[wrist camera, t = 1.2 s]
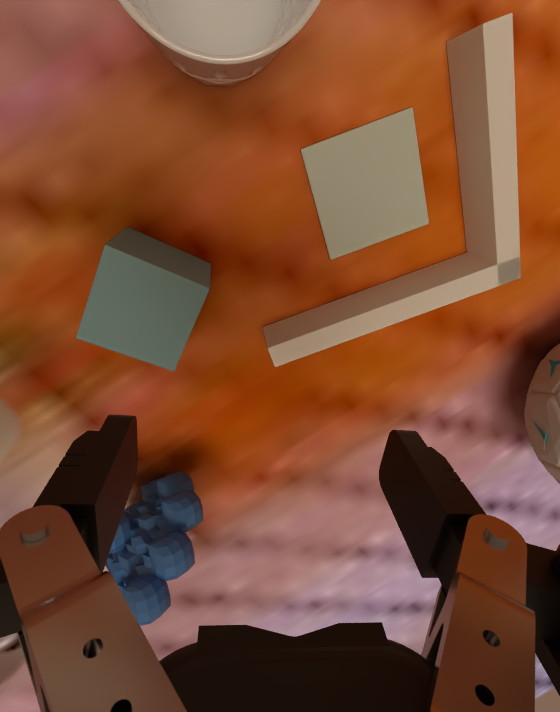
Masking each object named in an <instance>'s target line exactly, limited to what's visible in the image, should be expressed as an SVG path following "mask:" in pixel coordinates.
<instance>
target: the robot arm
mask: <svg viewBox="0 0 560 712" xmlns="http://www.w3.org/2000/svg"><path fill="white" fill-rule="evenodd" d="M137 462H138V449H137V420H136V416H126V415H108V417H107V418H106V420H105V422H104V424H103V426H102V428H101V429H100V431H87V432H85V433H84V434H83V435H81V436H80V437H79V438H77V439H76V440H75V441H73V443H72V444H71V446H70V448H69V449H68V451H67V453H66V455H65V457H63V459H62V461H61V462H60V464H59V467H57V469H56V470H55V472H54V474H53V475H52V477H51V478H50V480H49V482H48V483H47V485H46V486H45V488H44V490H43V491H42V493H41V494H40V496H39V498H38V499H37V501H36V503H35V504H34V506H33V507H32V508H29V509H26V510H24V511H22V512H20V513H18V514H16V515H15V516H13V517H12V518H10V519H9V520H8V521H7V522H6V523H5V524H4V525H3V526H2V527H1V529H0V638H1V637H4V636H7V635H11V634H14V633H17V635H18V638H19V641H20V644H21V648H22V651H23V654H24V657H25V661H26V664H27V667H28V671H29V674H30V677H31V680H32V684H33V687H34V690H35V694H36V697H37V700H38V704H39V707H40V711H41V712H535V653H536V655H537V657H538V658H539V660H540V662H541V664H542V665H543V667H544V669H545V671H546V673H547V674H548V676H549V678H550V680H551V681H552V683H553V685H554V687H555V688H556V690H557V692H558V694H559V695H560V545H559V546H558V548H557V550H556V551H553V550H549V549H546V548H542V547H538V546H535V545H531V544H528V543H526V542H525V540H524V539H523V537H522V536H521V535H520V534H519V532H518V531H517V530H515V529H514V528H513V527H512V526H511V525H509V524H508V523H506V522H504V521H503V520H501V519H498V518H496V517H493V516H490V515H486V513H485V512H484V511H483V509H482V508H481V507H480V505H479V504H478V502H477V501H476V500H475V498H474V497H473V496H472V494H471V493H470V491H469V490H468V489H467V487H466V486H465V485H464V483H463V482H461V479H460V478H459V476H458V475H457V474H456V472H454V469H453V468H452V467H451V465H450V464H449V463H448V461H447V460H446V458H445V457H443V456H442V455H441V454H440V453H438V452H437V451H436V450H435V449H433V448H432V447H427V445H426V444H425V442H424V441H423V440H422V438H421V437H420V435H419V434H418V433H417V432H416V431H406V430H392V431H391V432H390V434H389V436H388V440H387V443H386V447H385V450H384V454H383V457H382V461H381V464H380V469H379V481H380V485H381V488H382V490H383V493H384V495H385V497H386V499H387V501H388V504H389V506H390V508H391V510H392V513H393V515H394V517H395V519H396V521H397V524H398V526H399V528H400V530H401V532H402V535H403V537H404V539H405V541H406V543H407V546H408V548H409V550H410V552H411V554H412V557H413V559H414V561H415V563H416V565H417V568H418V570H419V572H420V574H421V576H422V578H439V580H440V582H441V587H440V589H439V592H438V595H437V598H436V602H435V606H434V610H433V613H432V617H431V621H430V625H429V628H428V632H427V636H426V639H425V643H424V647H423V650H422V653H421V655H419V654H418V653H416V652H415V651H413V650H411V649H410V648H408V647H406V646H404V645H402V644H399V643H397V642H394V641H392V640H388V639H387V637H386V634H385V631H384V628H383V625H382V622H381V623H338V624H335V625H332V626H329V627H326V628H323V629H320V630H316V631H313V632H310V633H307V634H304V635H301V636H297V637H292V636H287V635H283V634H279V633H276V632H272V631H268V630H264V629H260V628H256V627H252V626H248V625H216V626H199V631H198V642H196V643H193V644H190V645H187V646H185V647H183V648H181V649H178V650H176V651H174V652H173V653H171V654H169V655H168V656H166V657H164V658H163V659H162V660H160V661H159V660H158V658H157V657H156V655H155V653H154V651H153V649H152V647H151V646H150V644H149V642H148V640H147V638H146V637H145V635H144V633H143V631H142V629H141V628H140V626H139V624H138V622H137V620H136V619H135V617H134V615H133V613H132V611H131V609H130V608H129V606H128V604H127V602H126V600H125V599H124V597H123V595H122V593H121V591H120V590H119V588H118V586H117V584H116V582H115V581H114V579H113V577H112V576H111V574H110V573H109V572H107V571H105V572H103V570H104V567H105V564H106V561H107V558H108V555H109V552H110V549H111V546H112V544H113V541H114V538H115V535H116V532H117V529H118V526H119V523H120V520H121V517H122V514H123V511H124V508H125V506H126V503H127V500H128V497H129V494H130V491H131V488H132V485H133V482H134V479H135V476H136V470H137Z"/></svg>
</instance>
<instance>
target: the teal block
mask: <svg viewBox="0 0 560 712" xmlns="http://www.w3.org/2000/svg"><path fill="white" fill-rule="evenodd" d="M210 276H211V263H208V262H206V261H204V260H202V259H199V258H197V257H195V256H193V255H190V254H188V253H186V252H184V251H181V250H179V249H177V248H175V247H172V246H170V245H168V244H165V243H163V242H161V241H159V240H156V239H154V238H152V237H150V236H147V235H145V234H143V233H141V232H138V231H136V230H134V229H131V228H129V227H126V228H125V229H123V230H122V231H121V232H120V233H119V234H117V235H116V236H115V237H114V238H113V239H111V240H110V241H109V242H108V243H106V244H105V246H104V250H103V253H102V256H101V259H100V262H99V266H98V269H97V272H96V275H95V279H94V282H93V285H92V288H91V291H90V295H89V298H88V301H87V304H86V307H85V311H84V314H83V317H82V320H81V323H80V327H79V330H78V333H77V336H76V338H77V339H80V340H83V341H86V342H89V343H92V344H95V345H98V346H101V347H104V348H107V349H109V350H112V351H115V352H118V353H121V354H124V355H127V356H130V357H133V358H136V359H139V360H142V361H145V362H148V363H151V364H154V365H157V366H159V367H162V368H165V369H168V370H171V371H174V370H175V368H176V366H177V363H178V361H179V359H180V357H181V354H182V352H183V350H184V347H185V345H186V343H187V340H188V338H189V336H190V333H191V331H192V329H193V326H194V324H195V322H196V319H197V317H198V315H199V312H200V310H201V308H202V305H203V303H204V301H205V299H206V296H207V294H208V292H209V289H210Z"/></svg>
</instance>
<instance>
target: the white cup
mask: <svg viewBox="0 0 560 712" xmlns="http://www.w3.org/2000/svg"><path fill="white" fill-rule="evenodd" d="M118 1H119V3H120V4H121V5H122V6H123V8H124V9H125V10H126V11H127V13H128V14H129V15H130V16H131V17H132V19H133V20H134V21H135V22H136V23H137V25H138V26H139V27H140V28H141V30H142V31H143V32H144V33H145V35H146V36H147V37H148V39H149V40H150V41H151V42H152V43H153V44H154V45H155V46H156V47H157V49H158V50H159V51H160V52H161V53H162V54H163V55H164V56H165V57H166V58H167V59H168V60H169V61H170V62H172V63H173V64H174V65H175V66H176V67H177V68H178V69H179V70H181V71H183V72H184V73H186V74H188V75H189V76H191V77H193V78H194V79H196V80H198V81H200V82H201V83H203V84H205V85H223V86H234V85H236V84H238V83H239V82H241V81H243V80H245V79H247V78H249V77H251V76H253V75H255V74H256V73H258V72H259V71H260V70H262V69H263V68H264V67H265V66H267V65H268V64H269V63H270V62H271V61H272V60H273V59H274V58H275V57H276V56H277V55H278V54H279V53H280V52H281V51H282V50H283V49H284V47H285V46H286V45H287V44H288V43H289V42H290V41H291V40H292V38H293V37H294V36H295V35H296V34H297V33H298V32H299V31H300V30H301V29H302V28H303V26H304V25H305V24H306V23H307V22H308V20H309V19H310V18H311V16H312V15H313V13H314V12H315V10H316V9H317V7H318V5H319V3H320V2H321V0H118Z"/></svg>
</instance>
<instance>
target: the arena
mask: <svg viewBox="0 0 560 712" xmlns="http://www.w3.org/2000/svg"><path fill="white" fill-rule="evenodd" d="M446 45H447V56H448V66H449V76H450V86H451V96H452V107H453V117H454V127H455V137H456V147H457V158H458V168H459V178H460V188H461V198H462V209H463V219H464V229H465V239H466V249H467V252H466V253H463V254H461V255H458V256H455V257H453V258H450V259H447V260H444V261H442V262H439V263H436V264H433V265H431V266H428V267H425V268H423V269H420V270H417V271H414V272H412V273H409V274H406V275H403V276H401V277H398V278H395V279H393V280H390V281H387V282H384V283H382V284H379V285H376V286H373V287H371V288H368V289H365V290H363V291H360V292H357V293H354V294H352V295H349V296H346V297H343V298H341V299H338V300H335V301H333V302H330V303H327V304H324V305H322V306H319V307H316V308H313V309H311V310H308V311H305V312H303V313H300V314H297V315H294V316H292V317H289V318H286V319H283V320H281V321H278V322H275V323H273V324H270V325H267V326H264V327H262V329H263V332H264V336H265V340H266V344H267V348H268V351H269V353H270V356H271V358H272V361H273V363H274V366H275V367H277V366H280V365H283V364H285V363H288V362H291V361H294V360H296V359H299V358H302V357H305V356H307V355H310V354H313V353H316V352H318V351H321V350H324V349H327V348H329V347H332V346H335V345H338V344H340V343H343V342H346V341H349V340H351V339H354V338H357V337H360V336H362V335H365V334H368V333H371V332H373V331H376V330H379V329H382V328H384V327H387V326H390V325H393V324H395V323H398V322H401V321H404V320H406V319H409V318H412V317H415V316H417V315H420V314H423V313H426V312H428V311H431V310H434V309H437V308H439V307H442V306H445V305H448V304H450V303H453V302H456V301H459V300H461V299H464V298H467V297H470V296H472V295H475V294H478V293H481V292H483V291H486V290H489V289H492V288H494V287H497V286H500V285H503V284H505V283H508V282H511V281H514V280H516V279H519V278H521V271H520V240H519V208H518V177H517V145H516V113H515V82H514V50H513V19H512V13H510V14H507V15H505V16H502V17H500V18H497V19H494V20H492V21H489V22H486V23H484V24H482V25H480V26H477V27H475V28H473V29H471V30H469V31H467V32H465V33H463V34H461V35H459V36H457V37H455V38H453V39H451V40H449V41H447V42H446ZM300 150H301V154H302V158H303V161H304V165H305V169H306V172H307V176H308V180H309V183H310V187H311V191H312V195H313V198H314V202H315V206H316V209H317V213H318V217H319V220H320V224H321V228H322V231H323V235H324V239H325V243H326V246H327V250H328V254H329V257H330V260H332V259H335V258H337V257H340V256H343V255H345V254H348V253H351V252H353V251H356V250H359V249H362V248H364V247H367V246H370V245H372V244H375V243H378V242H381V241H383V240H386V239H389V238H391V237H394V236H397V235H399V234H402V233H405V232H408V231H410V230H413V229H416V228H418V227H421V226H424V225H427V224H429V221H428V214H427V207H426V199H425V192H424V185H423V178H422V171H421V164H420V157H419V150H418V142H417V135H416V128H415V121H414V114H413V107H411V108H408V109H406V110H403V111H400V112H398V113H395V114H392V115H390V116H387V117H384V118H382V119H379V120H377V121H374V122H371V123H369V124H366V125H363V126H361V127H358V128H355V129H353V130H350V131H347V132H345V133H342V134H340V135H337V136H334V137H332V138H329V139H326V140H324V141H321V142H318V143H316V144H313V145H310V146H308V147H305V148H303V149H300Z"/></svg>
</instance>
